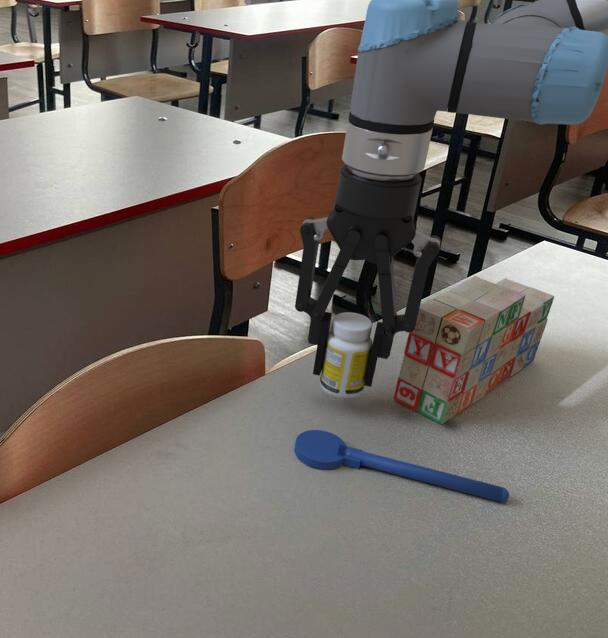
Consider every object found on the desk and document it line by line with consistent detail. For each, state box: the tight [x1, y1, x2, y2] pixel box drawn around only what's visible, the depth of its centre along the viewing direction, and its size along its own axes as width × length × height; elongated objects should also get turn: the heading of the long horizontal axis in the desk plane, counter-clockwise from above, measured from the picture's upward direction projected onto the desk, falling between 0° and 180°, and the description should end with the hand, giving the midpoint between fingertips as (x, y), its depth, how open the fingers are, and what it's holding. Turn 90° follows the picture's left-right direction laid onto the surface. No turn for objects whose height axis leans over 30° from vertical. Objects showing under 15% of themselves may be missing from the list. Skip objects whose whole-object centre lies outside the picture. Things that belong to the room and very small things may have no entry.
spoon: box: [293, 429, 510, 503], centre depth 75 cm, size 20×5×1 cm, turn 68°
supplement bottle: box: [319, 311, 373, 399], centre depth 82 cm, size 5×5×8 cm
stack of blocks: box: [393, 275, 555, 425], centre depth 87 cm, size 21×6×12 cm, turn 129°
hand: (343, 373), depth 83 cm, fingers closed on supplement bottle, 5 cm apart
